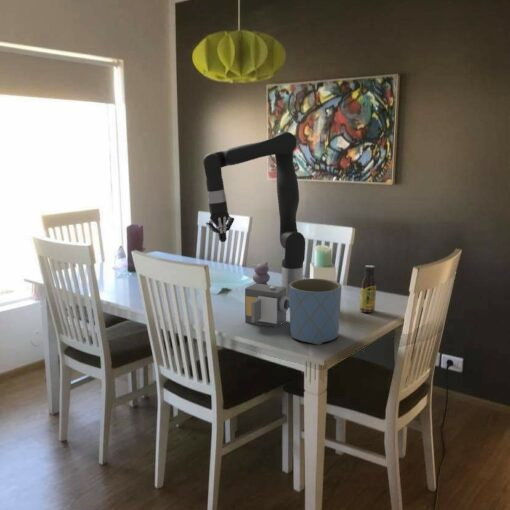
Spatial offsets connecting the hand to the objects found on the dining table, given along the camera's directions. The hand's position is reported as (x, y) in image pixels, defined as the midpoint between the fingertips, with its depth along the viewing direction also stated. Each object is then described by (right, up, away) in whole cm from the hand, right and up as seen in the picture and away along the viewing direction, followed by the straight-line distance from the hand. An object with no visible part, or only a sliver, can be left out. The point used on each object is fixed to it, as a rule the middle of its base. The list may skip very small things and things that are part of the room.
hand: (223, 241), depth 235 cm
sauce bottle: (+62, -30, +1) cm, 68 cm away
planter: (+36, -36, -28) cm, 58 cm away
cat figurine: (+17, -22, +40) cm, 48 cm away
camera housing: (+19, -33, -12) cm, 40 cm away
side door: (+17, -33, -20) cm, 42 cm away
